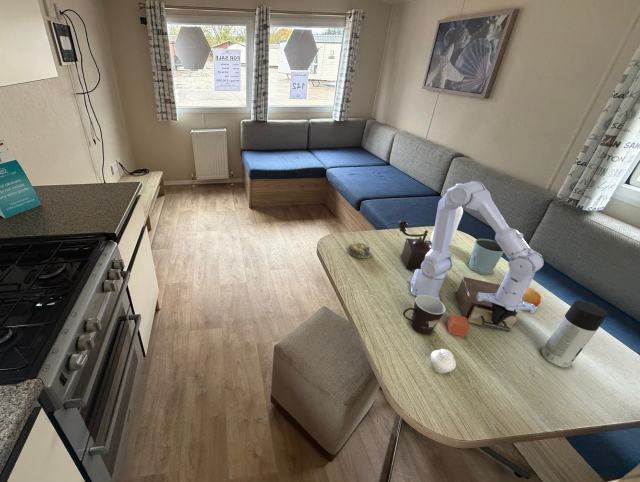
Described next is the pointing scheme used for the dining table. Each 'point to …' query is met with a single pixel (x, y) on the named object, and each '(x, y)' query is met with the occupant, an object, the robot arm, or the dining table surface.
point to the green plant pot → (485, 256)
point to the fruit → (531, 297)
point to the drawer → (489, 318)
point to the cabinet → (474, 294)
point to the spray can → (573, 333)
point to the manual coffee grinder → (414, 248)
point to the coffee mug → (425, 314)
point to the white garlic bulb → (443, 361)
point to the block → (458, 325)
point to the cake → (359, 250)
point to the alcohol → (456, 222)
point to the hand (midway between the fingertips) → (494, 322)
